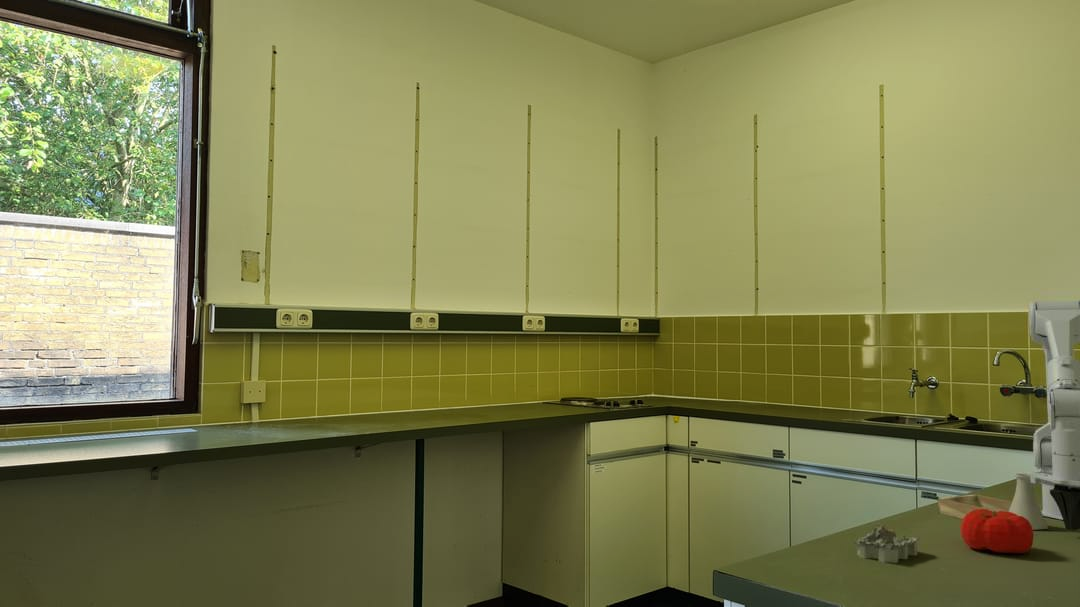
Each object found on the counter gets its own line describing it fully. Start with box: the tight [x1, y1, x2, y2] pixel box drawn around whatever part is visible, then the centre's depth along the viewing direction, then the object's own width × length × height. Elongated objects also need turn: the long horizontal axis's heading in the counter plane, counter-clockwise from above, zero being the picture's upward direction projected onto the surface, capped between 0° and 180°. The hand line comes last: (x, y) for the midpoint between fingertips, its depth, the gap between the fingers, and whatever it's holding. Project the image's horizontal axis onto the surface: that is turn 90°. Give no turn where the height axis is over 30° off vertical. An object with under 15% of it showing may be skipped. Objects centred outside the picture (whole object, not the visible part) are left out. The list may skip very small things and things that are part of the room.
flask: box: [1009, 473, 1049, 531], centre depth 156 cm, size 7×7×10 cm
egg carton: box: [853, 524, 920, 564], centre depth 135 cm, size 11×8×4 cm
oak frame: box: [937, 494, 1012, 520], centre depth 164 cm, size 11×11×3 cm
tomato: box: [960, 509, 1035, 555], centre depth 138 cm, size 10×11×6 cm
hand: (1072, 529), depth 147 cm, fingers closed
